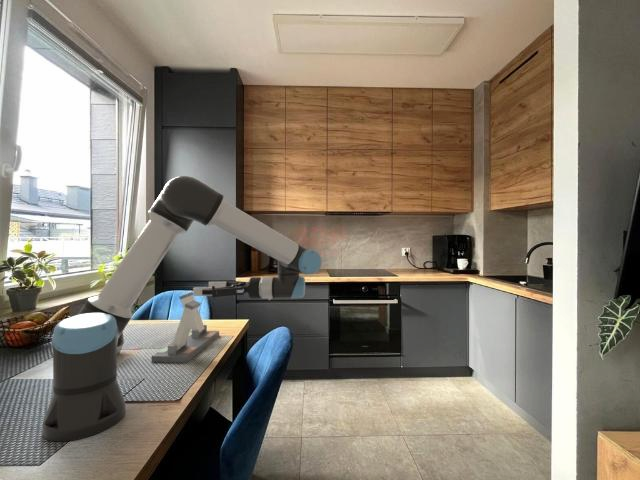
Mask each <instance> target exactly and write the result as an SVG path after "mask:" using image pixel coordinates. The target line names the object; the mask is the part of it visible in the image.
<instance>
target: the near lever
mask: <svg viewBox="0 0 640 480" xmlns="http://www.w3.org/2000/svg"><path fill="white" fill-rule="evenodd" d="M200 306H201V302H199V301H196V300H195V301H194V300H193V301H191V302H188V303H186V304H185V309H184V308H183V312H182V315H181V318H180V321H179V323H178V327H177V329H176V332H175V335H174V337H173V341H172V342H171V344H172V345H176V351H177V350H178V349H180V348H181V347H183V346H184V345H185V344H186V341H187V338H188V336H189V333H190V332H191V331H192V330H191V327H192V324H193V322H194V319H195V316H196V313H197V310H198V311H199V307H200Z"/></svg>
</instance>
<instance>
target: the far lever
mask: <svg viewBox="0 0 640 480" xmlns="http://www.w3.org/2000/svg"><path fill="white" fill-rule="evenodd" d="M178 298H179V300H180V302H181V305H182V307H183V310H184V309H185V304H186V303H188V302H191V301H193V300H194V301H196V300H195V296H193V291H191V292H188V293H185V294H182V295H180V296H179V297H178ZM204 325H205V324H204V322H203V319H202V317H201V314H200V312H199V309H198V310H197V313H196V316H195V319H194V322H193V324H192V327H191V330H190V331H192V330H199V335H200V334H201V333H203V332H204V329H205V328H204Z"/></svg>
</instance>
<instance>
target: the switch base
mask: <svg viewBox="0 0 640 480" xmlns="http://www.w3.org/2000/svg"><path fill="white" fill-rule="evenodd" d="M203 325H204V328H205V329H204V332H203V333H201V334H200V335H199V330H190V333H189V336H188V338H187V341H186V344H185V345H184V346H183V347H181V348H180V349H178V350H177V351H176V345H172V343H170V344H168V345H167V346H166V347H164V348H162V349H161V350H159V351H157V352H156V353H154V354H153V355H151V363H180V364H181V363H183V364H185V363H186V364H187V363H188V362H189V361H191V360H192V359H193V358H194V357H195V356H196V355H197V354H199V353H200V352H201V351H202V350H204V349H205V348H206V347H207V346H209V345H210V344H211V343H212V342H213V341H215V340H216V339H218V338H219V336H220V331H219V330H208V325H207V324H203Z"/></svg>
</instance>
